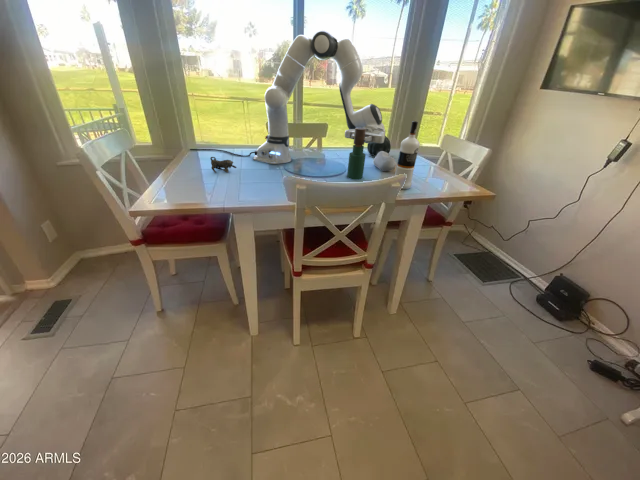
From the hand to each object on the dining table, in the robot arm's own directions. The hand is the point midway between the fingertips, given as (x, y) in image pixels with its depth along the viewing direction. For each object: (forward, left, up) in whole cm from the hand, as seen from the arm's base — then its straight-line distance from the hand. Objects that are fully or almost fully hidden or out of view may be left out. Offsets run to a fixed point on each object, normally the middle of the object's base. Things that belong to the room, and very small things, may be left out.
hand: (358, 138), depth 132 cm
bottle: (0, +1, -20) cm, 20 cm away
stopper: (0, +1, -6) cm, 7 cm away
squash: (+6, +49, -20) cm, 53 cm away
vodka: (+24, -3, -20) cm, 31 cm away
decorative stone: (+13, +23, -20) cm, 33 cm away
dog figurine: (-65, -20, -20) cm, 71 cm away
